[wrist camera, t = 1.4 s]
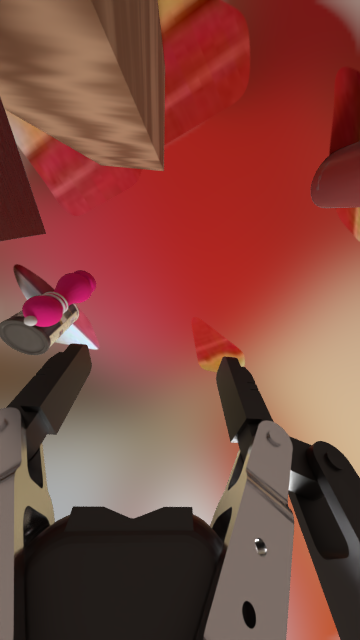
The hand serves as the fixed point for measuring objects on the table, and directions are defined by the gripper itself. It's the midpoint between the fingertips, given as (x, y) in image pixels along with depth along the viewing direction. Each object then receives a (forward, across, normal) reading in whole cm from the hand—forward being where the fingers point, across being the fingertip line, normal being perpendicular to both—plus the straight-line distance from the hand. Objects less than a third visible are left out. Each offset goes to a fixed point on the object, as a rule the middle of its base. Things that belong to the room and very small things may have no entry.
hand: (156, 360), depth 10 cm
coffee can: (+37, +31, +20) cm, 52 cm away
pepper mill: (+37, +22, +11) cm, 44 cm away
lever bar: (+4, +10, -18) cm, 21 cm away
